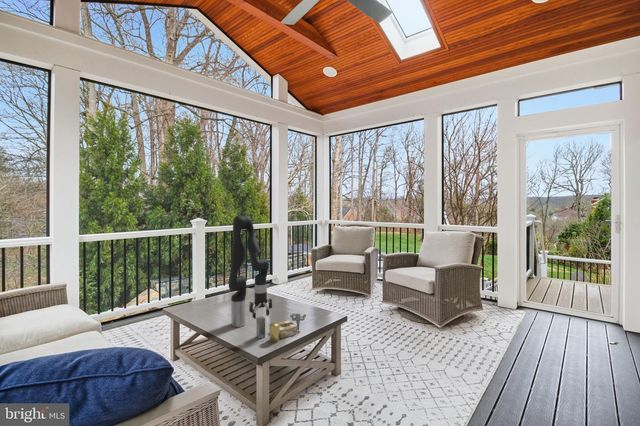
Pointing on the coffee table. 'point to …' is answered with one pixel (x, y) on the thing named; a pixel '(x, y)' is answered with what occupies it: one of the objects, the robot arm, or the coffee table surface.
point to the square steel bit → (260, 327)
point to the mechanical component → (297, 318)
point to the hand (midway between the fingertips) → (261, 317)
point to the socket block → (287, 329)
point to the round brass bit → (274, 332)
